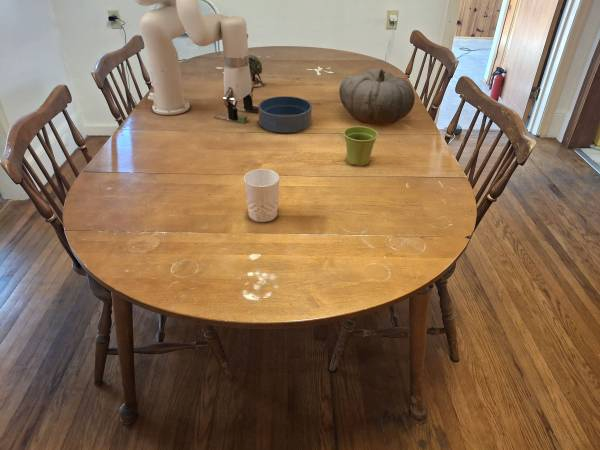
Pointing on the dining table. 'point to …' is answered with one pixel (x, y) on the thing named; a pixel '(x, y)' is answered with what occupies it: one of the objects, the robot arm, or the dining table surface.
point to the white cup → (262, 194)
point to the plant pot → (359, 144)
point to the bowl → (285, 114)
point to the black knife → (255, 110)
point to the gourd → (377, 97)
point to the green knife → (240, 119)
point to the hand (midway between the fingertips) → (241, 114)
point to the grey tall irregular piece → (255, 69)
